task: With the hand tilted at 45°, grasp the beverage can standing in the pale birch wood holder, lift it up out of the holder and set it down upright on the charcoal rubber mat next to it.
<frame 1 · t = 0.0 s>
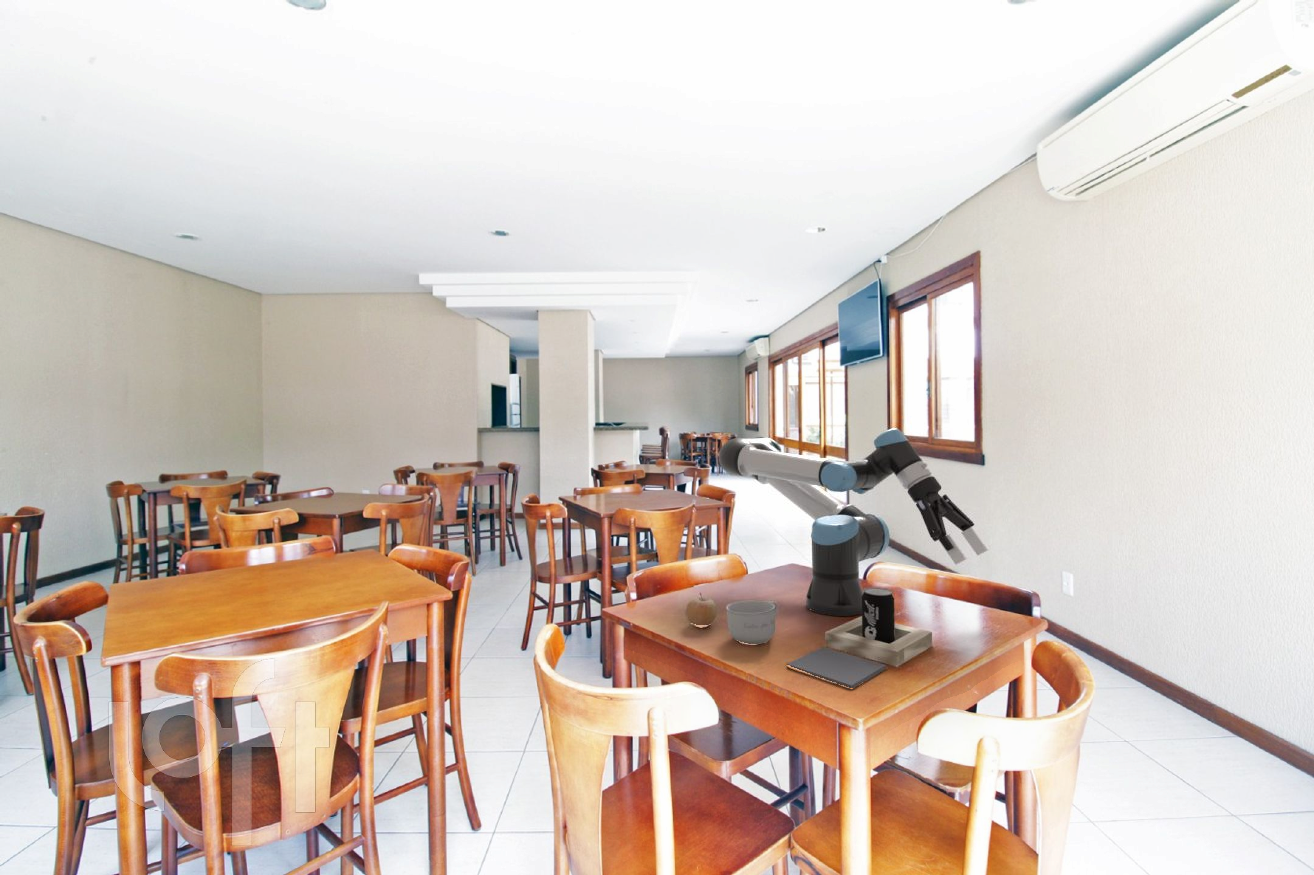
hand: (972, 557, 144), 15 cm above the table, tool tilted 35°, fingers open, 13 cm apart
beverage can: (878, 647, 129), resting in can holder
mat: (836, 668, 117), on the table
teacup: (756, 640, 134), on the table
fruit: (701, 627, 144), on the table
can holder: (878, 645, 129), on the table
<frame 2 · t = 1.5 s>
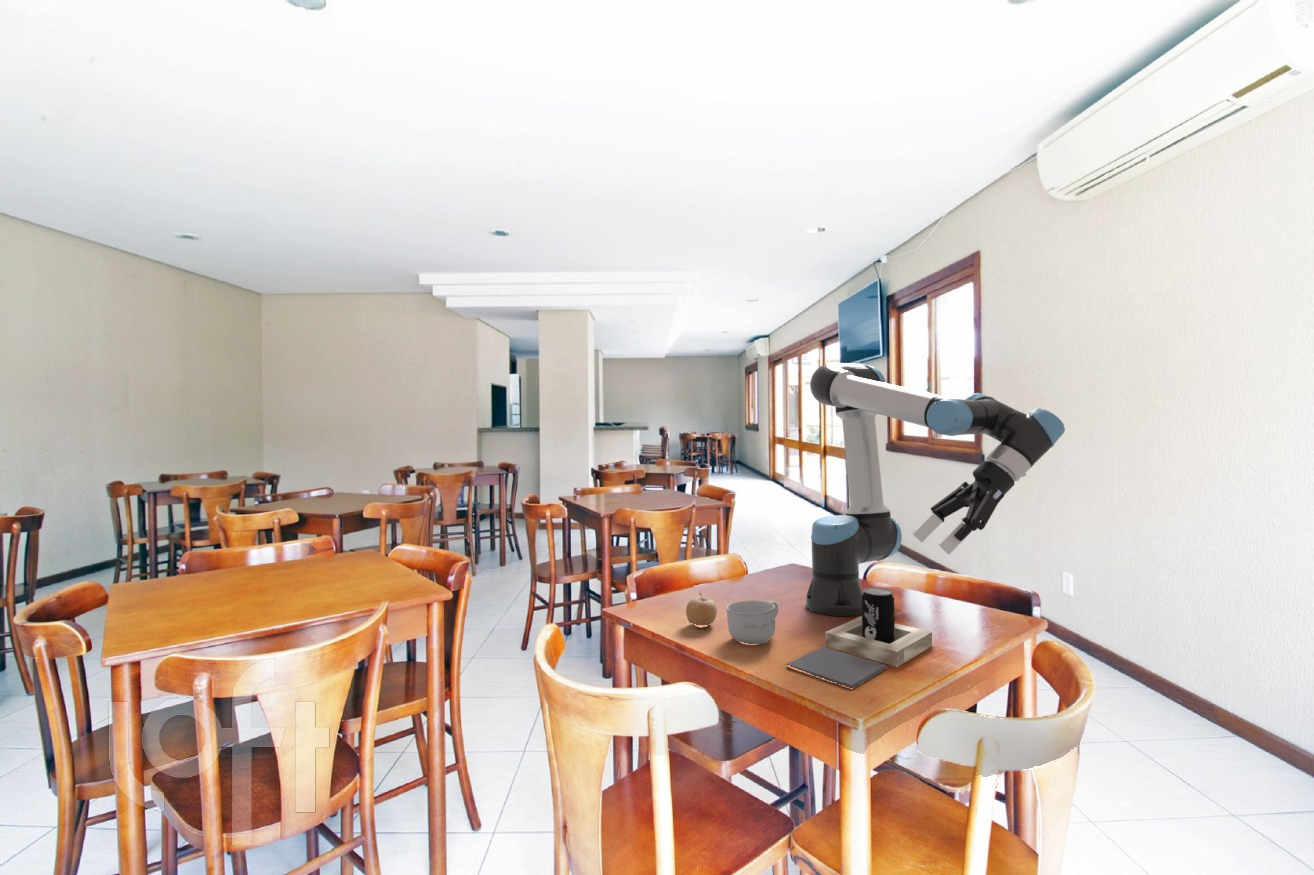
hand: (929, 543, 127), 22 cm above the table, tool tilted 45°, fingers open, 13 cm apart
nothing on the table moved.
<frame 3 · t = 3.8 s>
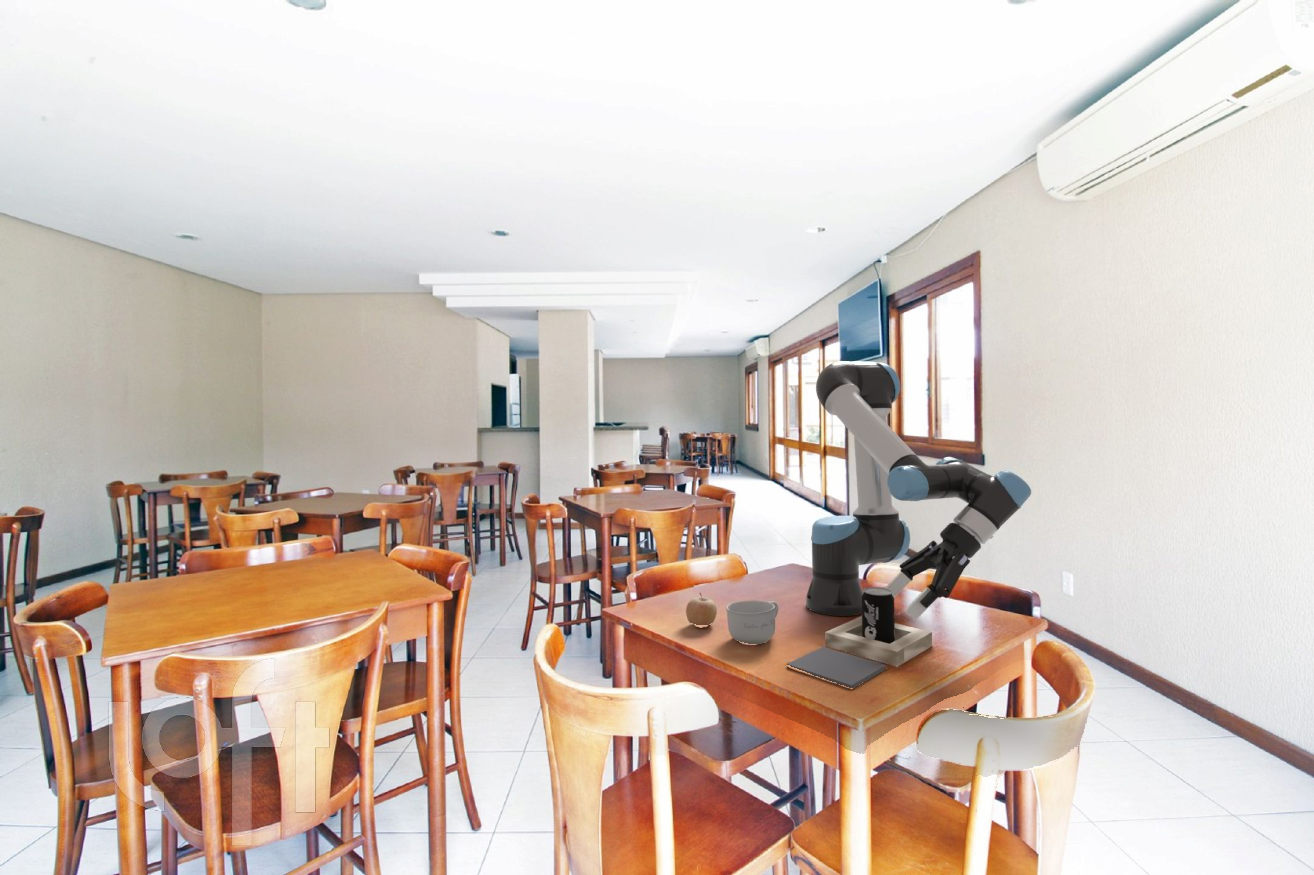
hand: (896, 606, 127), 9 cm above the table, tool tilted 45°, fingers open, 13 cm apart
nothing on the table moved.
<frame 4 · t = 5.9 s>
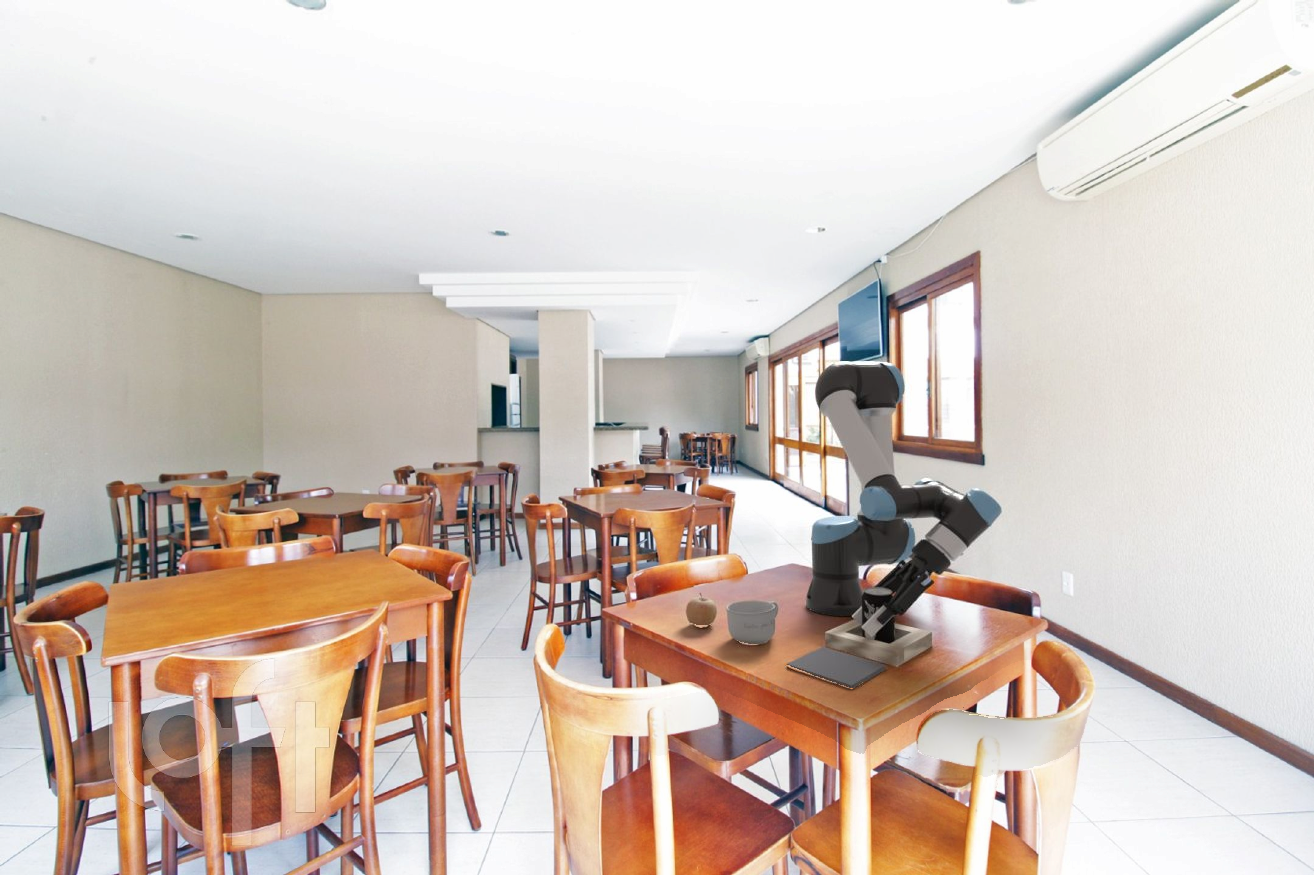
hand: (861, 626, 129), 4 cm above the table, tool tilted 45°, fingers closed on beverage can, 6 cm apart
beverage can: (878, 646, 129), resting in can holder, touching gripper
everything else where it was.
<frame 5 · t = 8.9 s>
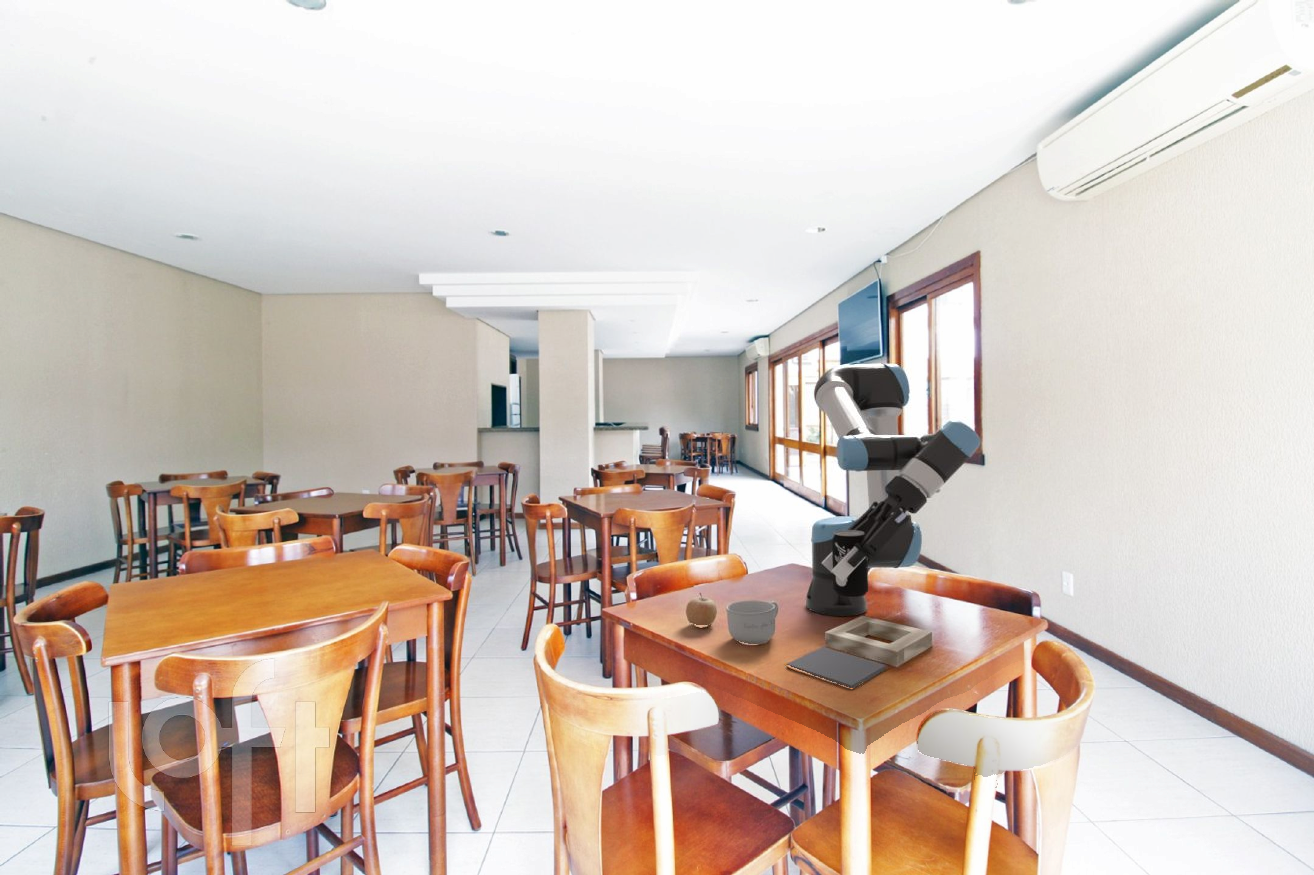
hand: (831, 571, 118), 19 cm above the table, tool tilted 45°, fingers closed on beverage can, 6 cm apart
beverage can: (850, 594, 118), point 14 cm above the table, touching gripper
everything else where it was.
when the fingers open (6 cm above the table, at t = 11.8 s): beverage can drops 1 cm, resting on mat.
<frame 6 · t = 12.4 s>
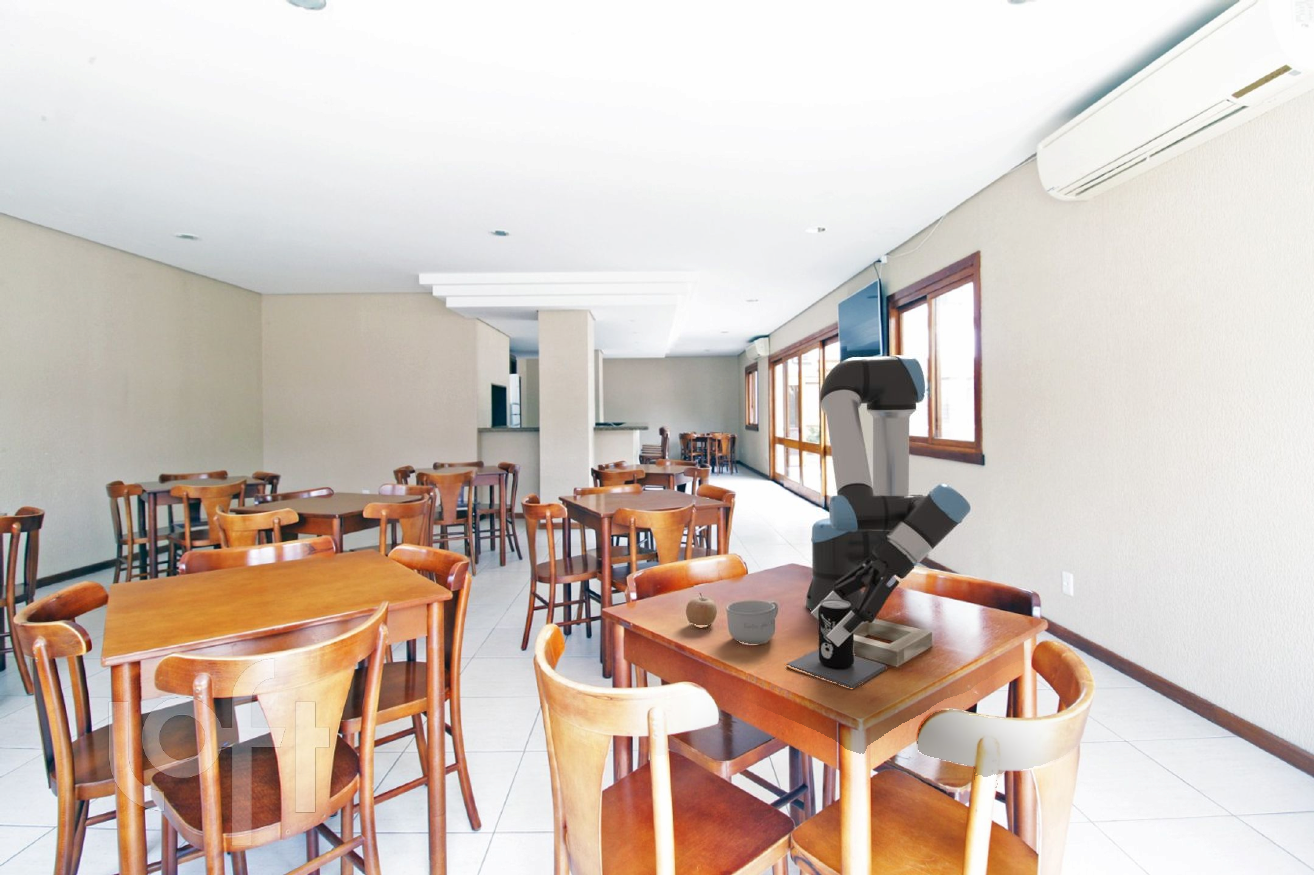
hand: (823, 628, 117), 8 cm above the table, tool tilted 45°, fingers open, 13 cm apart
beverage can: (836, 665, 117), point 1 cm above the table, touching mat
everything else where it was.
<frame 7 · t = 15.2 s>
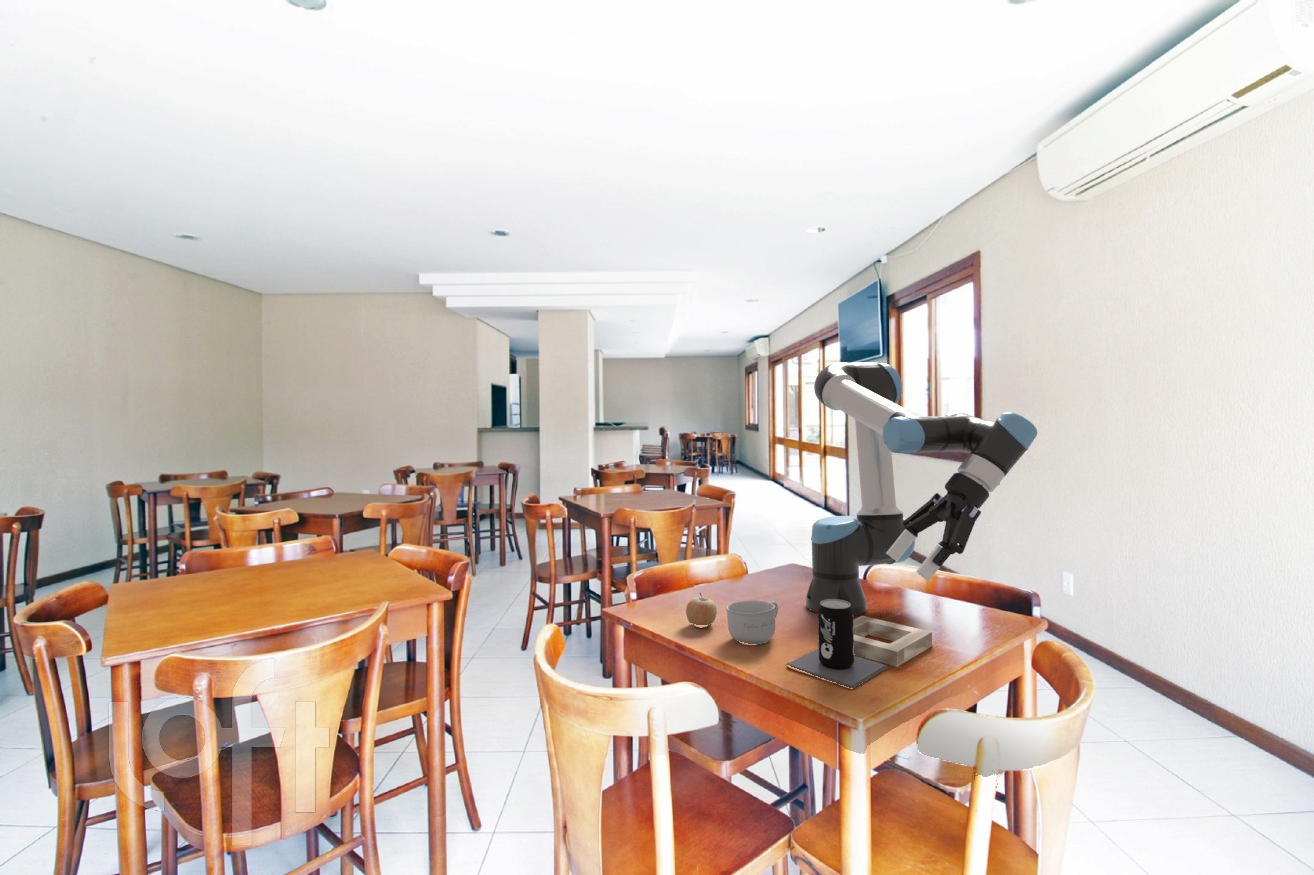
hand: (905, 566, 119), 19 cm above the table, tool tilted 40°, fingers open, 13 cm apart
nothing on the table moved.
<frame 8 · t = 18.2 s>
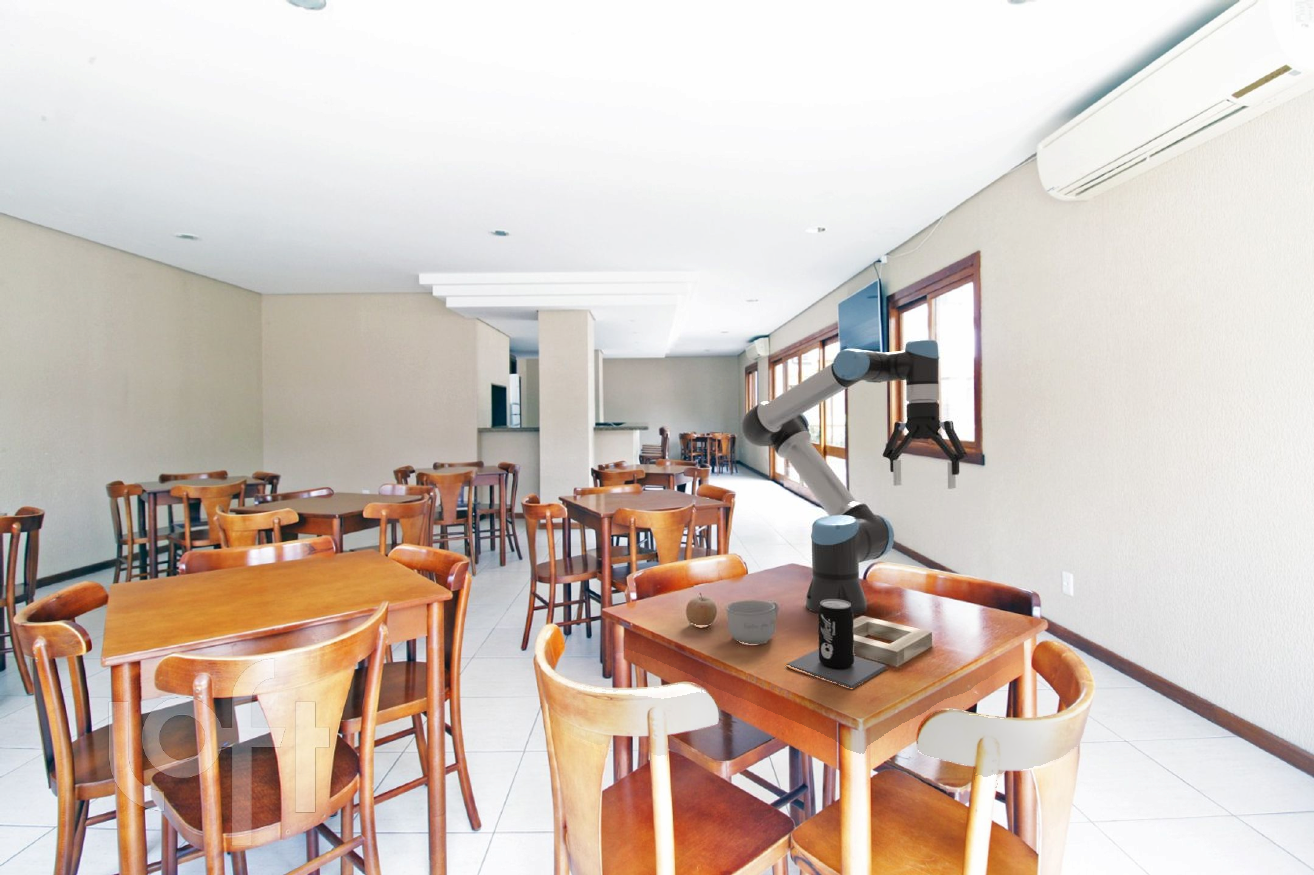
hand: (923, 486, 151), 32 cm above the table, tool pointing down, fingers open, 13 cm apart
nothing on the table moved.
at the end: beverage can inside the target area on the mat (0.1 cm from its centre), point 0.6 cm above the mat's base; beverage can tilted 0°; the gripper is holding nothing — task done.
